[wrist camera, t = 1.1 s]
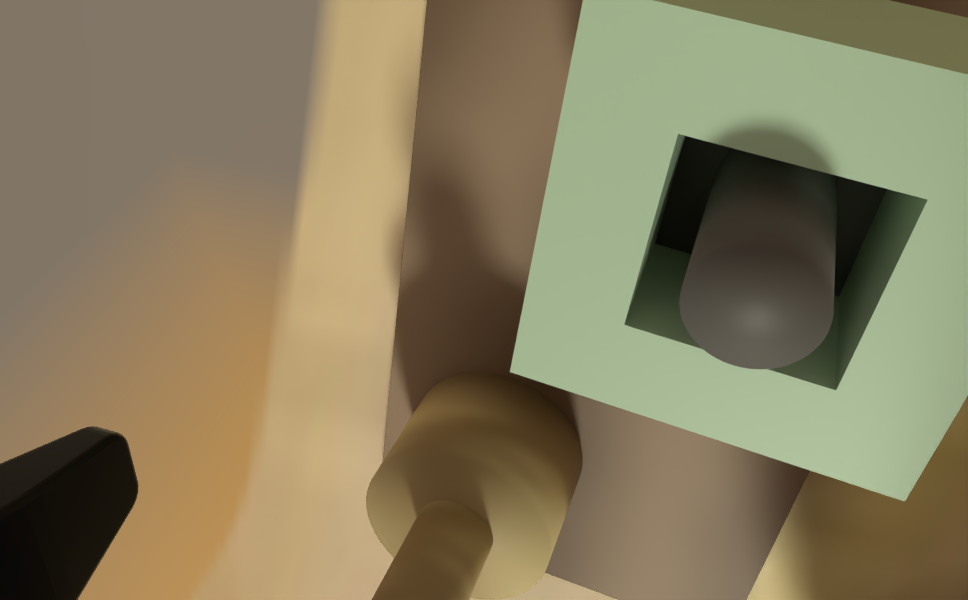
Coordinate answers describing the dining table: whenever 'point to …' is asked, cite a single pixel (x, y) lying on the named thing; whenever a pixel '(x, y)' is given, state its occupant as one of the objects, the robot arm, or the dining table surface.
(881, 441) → the collar
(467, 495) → the stand
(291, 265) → the dining table surface
